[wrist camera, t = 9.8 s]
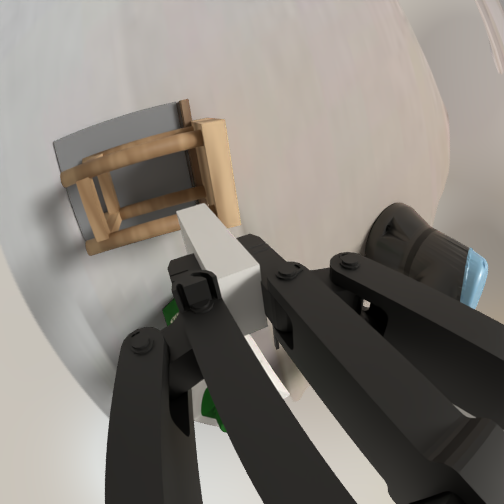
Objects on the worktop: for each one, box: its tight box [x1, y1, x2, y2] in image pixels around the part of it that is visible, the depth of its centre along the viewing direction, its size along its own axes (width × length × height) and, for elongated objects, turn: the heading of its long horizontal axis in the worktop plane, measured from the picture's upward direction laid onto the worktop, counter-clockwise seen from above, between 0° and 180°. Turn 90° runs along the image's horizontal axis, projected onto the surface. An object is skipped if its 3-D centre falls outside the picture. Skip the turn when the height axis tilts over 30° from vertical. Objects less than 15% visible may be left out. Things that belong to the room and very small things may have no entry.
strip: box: [179, 99, 208, 206], centre depth 29 cm, size 1×14×1 cm, turn 8°
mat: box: [54, 102, 196, 241], centre depth 27 cm, size 14×14×1 cm
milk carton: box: [162, 299, 290, 433], centre depth 30 cm, size 9×9×20 cm
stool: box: [60, 118, 241, 256], centre depth 23 cm, size 9×9×14 cm
